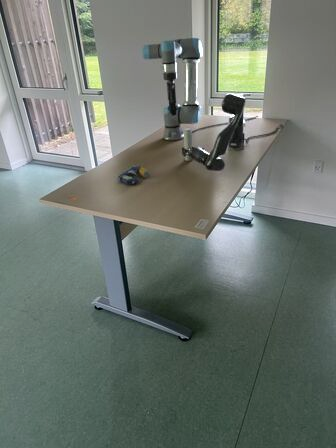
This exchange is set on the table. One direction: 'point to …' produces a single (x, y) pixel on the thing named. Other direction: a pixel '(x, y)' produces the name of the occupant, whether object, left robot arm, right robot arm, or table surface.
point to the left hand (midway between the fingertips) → (172, 113)
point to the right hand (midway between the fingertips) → (186, 148)
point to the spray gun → (133, 172)
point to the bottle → (188, 142)
